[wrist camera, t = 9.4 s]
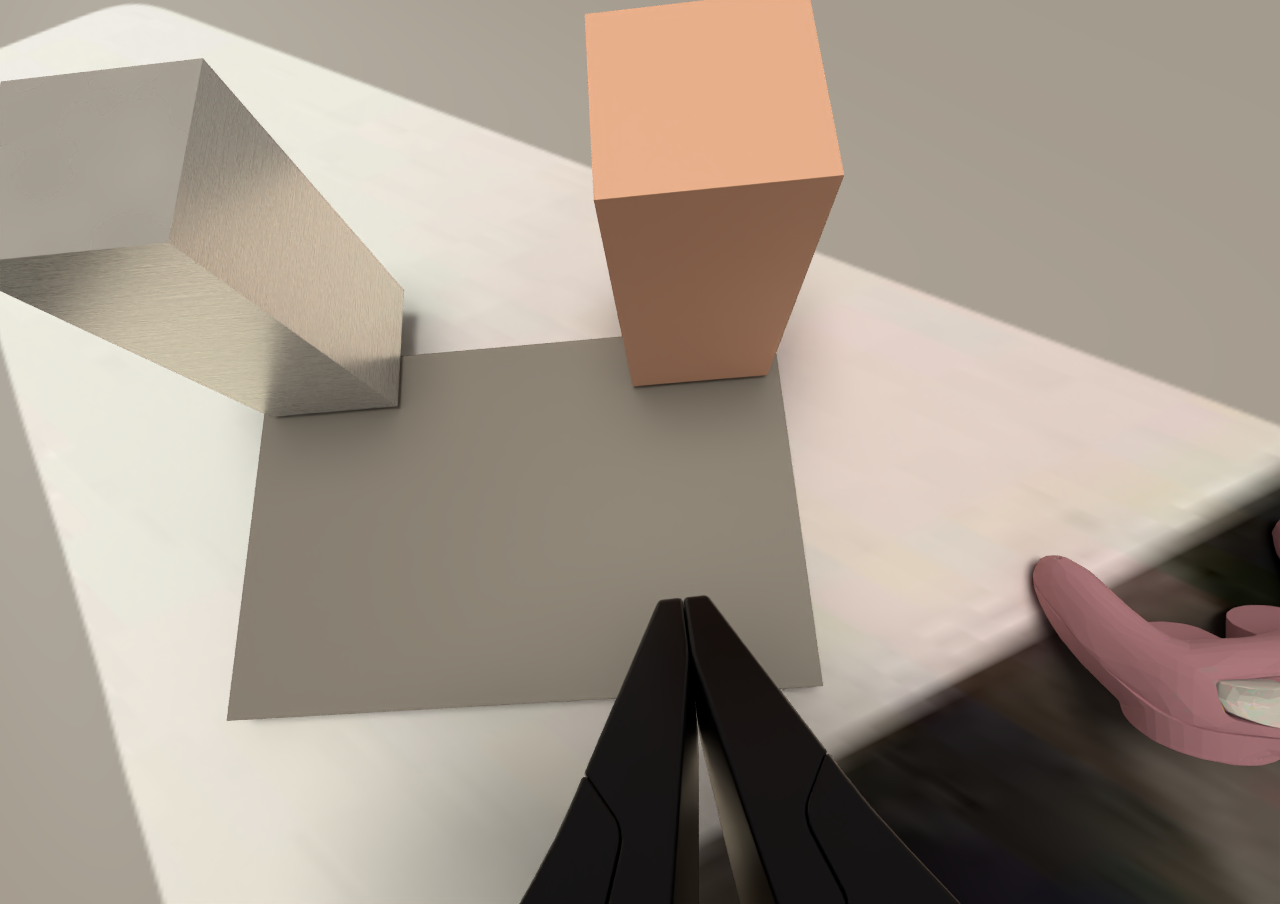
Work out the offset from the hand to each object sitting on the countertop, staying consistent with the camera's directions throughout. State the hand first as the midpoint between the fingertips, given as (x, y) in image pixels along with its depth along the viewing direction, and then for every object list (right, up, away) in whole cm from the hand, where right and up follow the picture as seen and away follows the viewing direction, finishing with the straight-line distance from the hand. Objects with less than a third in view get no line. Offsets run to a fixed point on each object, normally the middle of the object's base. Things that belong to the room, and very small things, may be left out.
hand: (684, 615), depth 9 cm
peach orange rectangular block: (+1, +8, +12) cm, 14 cm away
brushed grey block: (-13, +7, +13) cm, 19 cm away
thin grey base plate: (-5, 0, +12) cm, 13 cm away
